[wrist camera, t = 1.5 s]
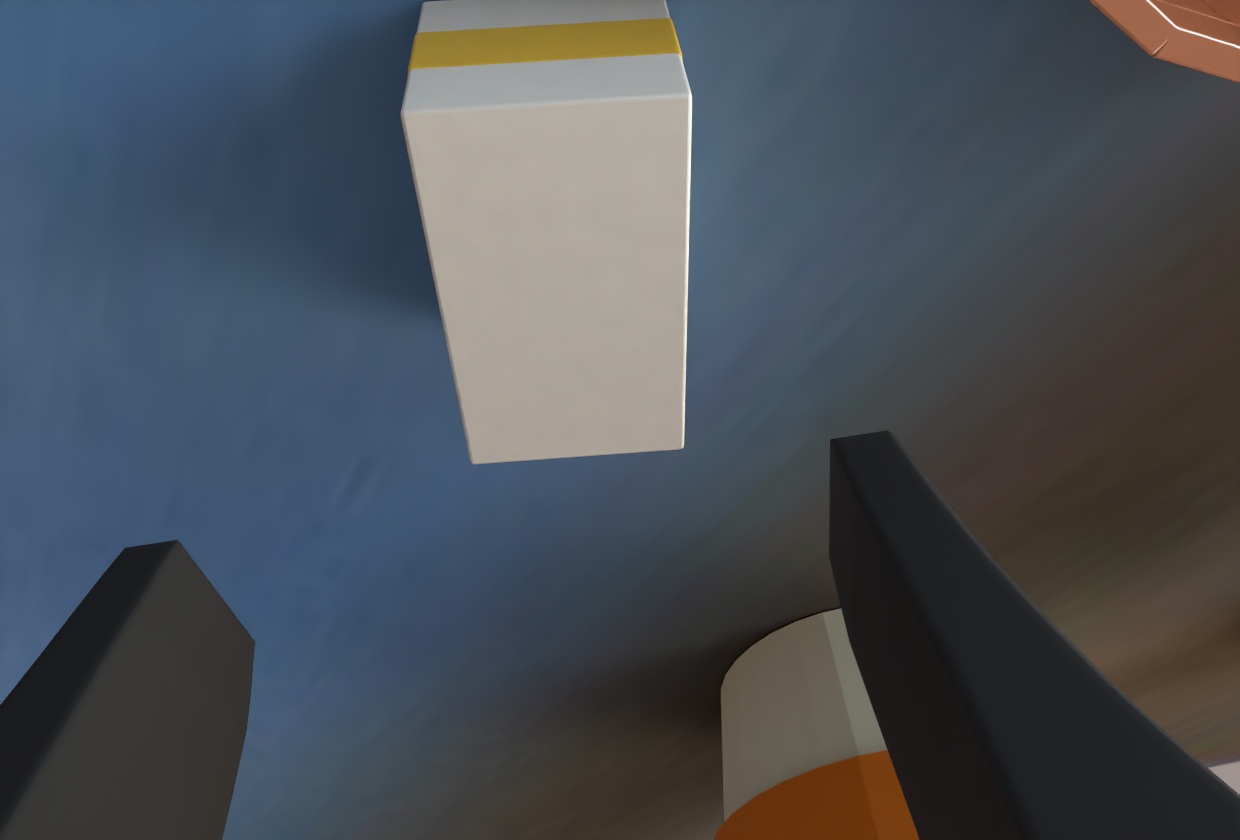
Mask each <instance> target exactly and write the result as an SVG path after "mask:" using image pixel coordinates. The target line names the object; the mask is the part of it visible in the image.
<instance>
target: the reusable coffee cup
mask: <svg viewBox="0 0 1240 840" xmlns="http://www.w3.org/2000/svg"><path fill="white" fill-rule="evenodd" d="M721 722H722V756H723V790H724V824H723V825H722V826H721V827H720V828H719V829H718V831H717V833H716V836H715V838H714V840H919V837H918V834H917V831H916V828H915V826H914V823H913V820H912V817H911V814H910V812H909V809H908V806H907V803H906V800H905V798H904V795H903V792H902V789H901V786H900V784H899V781H898V778H897V775H896V772H895V769H894V767H893V764H892V761H891V758H890V755H889V753H888V750H887V747H886V744H885V741H884V739H883V736H882V733H881V730H880V727H879V725H878V722H877V719H876V716H875V713H874V711H873V708H872V705H871V702H870V699H869V696H868V694H867V691H866V688H865V685H864V682H863V679H862V677H861V674H860V671H859V668H858V665H857V662H856V659H855V657H854V654H853V651H852V648H851V645H850V642H849V638H848V634H847V630H846V626H845V622H844V617H843V613H842V609H836V610H832V611H827V612H822V613H819V614H817V615H814V616H811V617H808V618H805V619H802V620H799V621H796V622H794V623H792V624H789V625H787V626H785V627H783V628H781V629H779V630H777V631H775V632H773V633H771V634H769V635H768V636H766V637H765V638H763V639H762V640H760V641H758V642H757V643H755V644H754V645H752V646H751V647H750V648H749V649H748V650H747V651H745V652H744V653H743V654H742V655H741V656H740V657H739V658H738V659H737V660H736V661H735V662H734V664H733V665H732V666H731V668H730V669H729V671H728V672H727V673H726V675H725V678H724V681H723V684H722V687H721Z"/></svg>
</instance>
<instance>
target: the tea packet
mask: <svg viewBox="0 0 1240 840" xmlns="http://www.w3.org/2000/svg"><path fill="white" fill-rule="evenodd" d="M407 74H408V79H407V84H406V89H405V94H404V99H403V104H402V109H401V114H400V116H401V121H402V126H403V131H404V135H405V140H406V145H407V150H408V155H409V160H410V165H411V170H412V175H413V180H414V185H415V190H416V195H417V200H418V205H419V209H420V214H421V219H422V224H423V229H424V234H425V239H426V244H427V249H428V254H429V259H430V264H431V269H432V274H433V279H434V283H435V288H436V293H437V298H438V303H439V308H440V313H441V318H442V323H443V328H444V333H445V338H446V343H447V348H448V353H449V357H450V362H451V367H452V372H453V377H454V382H455V387H456V392H457V397H458V402H459V407H460V412H461V417H462V422H463V427H464V432H465V436H466V441H467V446H468V451H469V456H470V461H471V463H472V464H484V463H498V462H511V461H525V460H539V459H552V458H566V457H580V456H594V455H607V454H621V453H635V452H648V451H662V450H676V449H682V448H683V447H684V429H685V386H686V343H687V300H688V257H689V214H690V171H691V127H692V94H691V90H690V87H689V83H688V80H687V76H686V73H685V69H684V65H683V62H682V53H681V49H680V46H679V42H678V39H677V35H676V32H675V28H674V25H673V22H672V19H670V15H669V12H668V8H667V5H666V1H665V0H446V1H429V2H424V3H423V4H422V9H421V14H420V19H419V24H418V29H417V34H415V37H414V42H413V47H412V52H411V57H410V61H409V66H408V71H407Z"/></svg>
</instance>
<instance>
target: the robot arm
mask: <svg viewBox="0 0 1240 840" xmlns="http://www.w3.org/2000/svg"><path fill="white" fill-rule="evenodd" d="M829 558H830V562H831V566H832V571H833V575H834V579H835V584H836V588H837V592H838V597H839V601H840V605H841V609H842V613H843V617H844V622H845V626H846V630H847V634H848V638H849V642H850V645H851V648H852V651H853V654H854V657H855V659H856V662H857V665H858V668H859V671H860V674H861V677H862V679H863V682H864V685H865V688H866V691H867V694H868V696H869V699H870V702H871V705H872V708H873V711H874V713H875V716H876V719H877V722H878V725H879V727H880V730H881V733H882V736H883V739H884V741H885V744H886V747H887V750H888V753H889V755H890V758H891V761H892V764H893V767H894V769H895V772H896V775H897V778H898V781H899V784H900V786H901V789H902V792H903V795H904V798H905V800H906V803H907V806H908V809H909V812H910V814H911V817H912V820H913V823H914V826H915V828H916V831H917V834H918V837H919V840H1240V795H1239V794H1237V792H1235V791H1234V790H1233V789H1232V788H1230V787H1229V786H1228V785H1227V784H1226V783H1225V782H1224V781H1222V780H1221V779H1220V778H1219V777H1218V776H1216V775H1215V774H1214V773H1213V772H1212V771H1210V770H1209V769H1208V768H1207V767H1206V766H1205V765H1203V764H1202V763H1201V762H1200V761H1199V760H1197V759H1196V758H1195V757H1194V756H1193V755H1192V754H1190V753H1189V752H1188V751H1187V750H1186V749H1185V748H1184V747H1183V746H1181V745H1180V744H1179V743H1178V742H1177V741H1176V740H1175V739H1174V738H1172V737H1171V736H1170V735H1169V734H1168V733H1167V732H1166V731H1165V730H1163V729H1162V728H1161V727H1160V726H1159V725H1158V724H1157V723H1156V722H1154V721H1153V720H1152V719H1151V718H1150V717H1149V716H1148V715H1147V714H1145V713H1144V712H1143V711H1142V710H1141V709H1140V708H1139V707H1138V706H1137V705H1136V704H1135V703H1134V702H1133V701H1131V700H1130V699H1129V698H1128V697H1127V696H1126V695H1125V694H1124V693H1123V692H1122V691H1121V690H1120V689H1119V688H1118V687H1117V686H1116V685H1115V684H1114V683H1112V682H1111V681H1110V680H1109V679H1108V678H1107V677H1106V676H1105V675H1104V674H1103V673H1102V672H1101V671H1100V670H1099V669H1098V668H1097V667H1096V666H1095V665H1094V664H1093V663H1092V662H1091V661H1090V660H1089V659H1088V658H1087V657H1086V656H1085V655H1084V654H1083V653H1082V652H1081V651H1080V650H1079V649H1078V648H1077V647H1076V646H1075V645H1074V644H1073V643H1072V642H1071V641H1070V640H1069V639H1068V638H1067V637H1066V636H1065V635H1064V634H1063V633H1062V632H1061V631H1060V630H1059V629H1058V628H1057V627H1056V626H1055V625H1054V624H1053V623H1052V622H1051V621H1050V620H1049V618H1048V617H1047V616H1046V615H1045V614H1044V613H1043V612H1042V611H1041V610H1040V609H1039V608H1038V607H1037V606H1036V605H1035V604H1034V603H1033V602H1032V601H1031V599H1030V598H1029V597H1028V596H1027V595H1026V594H1025V593H1024V592H1023V591H1022V589H1021V588H1020V587H1019V586H1018V585H1017V584H1016V583H1015V582H1014V581H1013V579H1012V578H1011V577H1010V576H1009V575H1008V574H1007V573H1006V572H1005V571H1004V569H1003V568H1002V567H1001V566H1000V565H999V564H998V563H997V562H996V561H995V559H994V558H993V557H992V556H991V555H990V554H989V553H988V552H987V550H986V549H985V548H984V547H983V546H982V545H981V543H980V542H979V541H978V540H977V539H976V538H975V536H974V535H973V534H972V533H971V532H970V531H969V529H968V528H967V527H966V526H965V524H964V523H963V522H962V521H961V520H960V518H959V517H958V516H957V515H956V513H955V512H954V511H953V510H952V509H951V507H950V506H949V505H948V504H947V502H946V501H945V500H944V499H943V497H942V496H941V495H940V494H939V492H938V491H937V490H936V488H935V487H934V486H933V485H932V483H931V482H930V481H929V479H928V478H927V477H926V475H925V474H924V473H923V472H922V470H921V469H920V468H919V466H918V465H917V463H916V462H915V461H914V459H913V458H912V457H911V455H910V454H909V453H908V451H907V450H906V448H905V447H904V445H903V444H902V443H901V441H900V440H899V438H898V437H897V436H895V435H894V434H892V433H891V432H889V431H881V432H875V433H868V434H862V435H855V436H849V437H842V438H836V439H830V526H829ZM254 645H255V641H254V640H253V638H252V637H251V636H250V634H249V633H248V632H247V630H246V629H245V628H244V626H243V625H242V624H241V623H240V621H239V620H238V619H237V617H236V616H235V615H234V613H233V612H232V611H231V609H230V608H229V607H228V605H227V604H226V603H225V601H224V600H223V599H222V597H221V596H220V595H219V594H218V592H217V591H216V590H215V588H214V587H213V586H212V584H211V583H210V582H209V580H208V579H207V578H206V576H205V575H204V574H203V572H202V571H201V570H200V568H199V567H198V566H197V564H196V563H195V562H194V561H193V559H192V558H191V557H190V555H189V554H188V553H187V551H186V550H185V549H184V547H183V546H182V545H181V543H180V542H179V541H178V540H174V541H167V542H161V543H154V544H148V545H141V546H135V547H128V548H125V549H124V550H123V551H122V552H121V553H120V555H119V556H118V557H117V558H116V559H115V561H114V562H113V563H112V564H111V565H110V567H109V568H108V569H107V570H106V572H105V573H104V574H103V575H102V577H101V578H100V579H99V580H98V582H97V583H96V584H95V585H94V587H93V588H92V589H91V590H90V592H89V593H88V594H87V596H86V597H85V598H84V599H83V601H82V602H81V603H80V604H79V606H78V607H77V608H76V610H75V611H74V612H73V613H72V615H71V616H70V617H69V619H68V620H67V621H66V623H65V624H64V625H63V626H62V628H61V629H60V630H59V632H58V633H57V634H56V635H55V637H54V638H53V639H52V641H51V642H50V643H49V644H48V646H47V647H46V648H45V650H44V651H43V652H42V653H41V655H40V656H39V657H38V659H37V660H36V661H35V662H34V664H33V665H32V666H31V667H30V669H29V670H28V671H27V672H26V674H25V675H24V676H23V677H22V679H21V680H20V681H19V682H18V684H17V685H16V686H15V688H14V689H13V690H12V691H11V693H10V694H9V695H8V696H7V698H6V699H5V700H4V701H3V703H2V704H1V705H0V840H222V837H223V833H224V829H225V824H226V820H227V816H228V812H229V807H230V803H231V799H232V794H233V790H234V785H235V781H236V776H237V772H238V767H239V763H240V758H241V754H242V749H243V745H244V740H245V735H246V730H247V723H248V714H249V705H250V696H251V685H252V672H253V658H254Z"/></svg>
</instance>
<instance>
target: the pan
mask: <svg viewBox="0 0 1240 840" xmlns="http://www.w3.org/2000/svg"><path fill="white" fill-rule="evenodd" d="M1088 1H1089V2H1090V3H1091V4H1092V5H1094V6H1095V7H1096V8H1097V9H1098V10H1099V11H1100V12H1101V13H1103V14H1104V15H1105V16H1106V17H1107V18H1108V19H1109V20H1110V21H1112V22H1113V23H1114V24H1115V25H1116V26H1117V27H1118V28H1119V29H1120V30H1122V31H1123V32H1124V33H1125V34H1126V35H1127V36H1128V37H1129V38H1131V39H1132V40H1133V41H1134V42H1135V43H1136V44H1137V45H1138V46H1139V47H1141V48H1142V49H1143V50H1144V51H1145V52H1146V53H1147V54H1149V55H1152V56H1153V57H1154V58H1157V59H1161V60H1164V61H1167V62H1171V63H1174V64H1177V65H1181V66H1184V67H1187V68H1191V69H1194V70H1197V71H1201V72H1204V73H1207V74H1211V75H1214V76H1217V77H1221V78H1224V79H1227V80H1231V81H1234V82H1237V83H1240V0H1088Z"/></svg>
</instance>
